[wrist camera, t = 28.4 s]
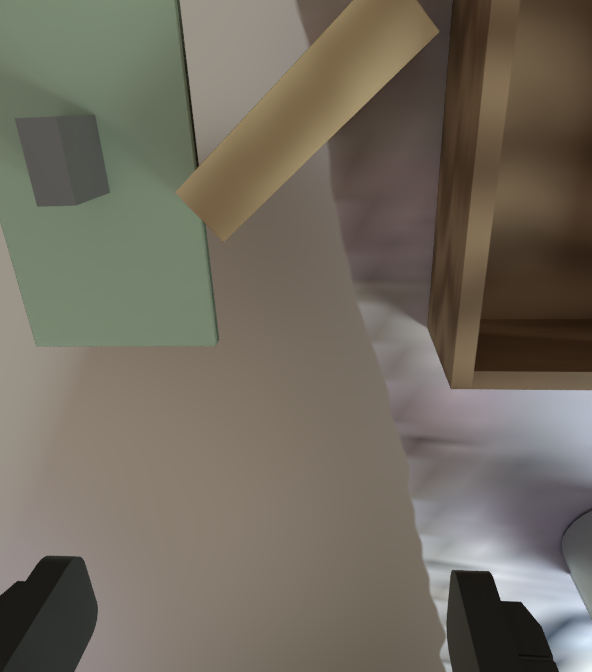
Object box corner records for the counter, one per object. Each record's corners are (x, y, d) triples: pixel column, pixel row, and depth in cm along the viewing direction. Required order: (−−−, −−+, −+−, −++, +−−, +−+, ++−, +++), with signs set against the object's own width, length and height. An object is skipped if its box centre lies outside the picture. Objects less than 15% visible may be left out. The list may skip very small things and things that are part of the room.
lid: (219, 339, 40) (199, 377, 35) (44, 340, 42) (-2, 376, 36) (175, -36, 30) (137, -68, 24) (-56, -18, 31) (-142, -45, 26)
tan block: (422, 44, 30) (439, 31, 25) (241, 221, 36) (223, 242, 30) (380, -13, 29) (388, -39, 24) (200, 178, 35) (174, 192, 29)
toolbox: (621, 327, 37) (702, 391, 28) (427, 327, 38) (450, 389, 30) (727, -85, 27) (897, -169, 18) (457, -65, 28) (505, -136, 20)
